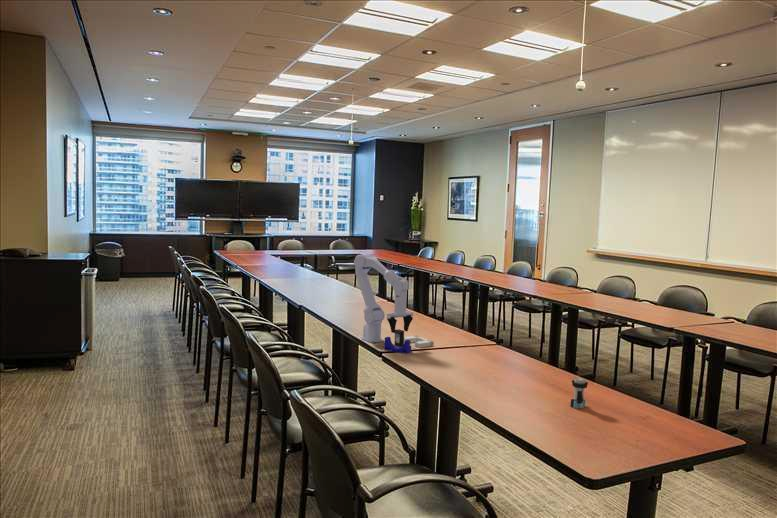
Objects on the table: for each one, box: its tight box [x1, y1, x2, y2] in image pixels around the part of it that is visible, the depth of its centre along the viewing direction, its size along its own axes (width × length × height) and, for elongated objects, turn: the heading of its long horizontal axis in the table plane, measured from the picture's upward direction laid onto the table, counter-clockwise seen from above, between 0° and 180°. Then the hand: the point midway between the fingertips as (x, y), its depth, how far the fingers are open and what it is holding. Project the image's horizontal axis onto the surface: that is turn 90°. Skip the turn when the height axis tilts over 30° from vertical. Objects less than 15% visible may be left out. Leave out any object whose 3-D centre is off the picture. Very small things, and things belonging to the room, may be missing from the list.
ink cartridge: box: [394, 328, 405, 348], centre depth 269 cm, size 5×2×8 cm, turn 33°
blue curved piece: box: [383, 336, 412, 355], centre depth 260 cm, size 12×4×6 cm, turn 62°
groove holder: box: [404, 335, 434, 349], centre depth 276 cm, size 14×9×2 cm, turn 35°
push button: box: [570, 377, 589, 409], centre depth 193 cm, size 7×5×10 cm
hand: (399, 331), depth 268 cm, fingers open, 7 cm apart
